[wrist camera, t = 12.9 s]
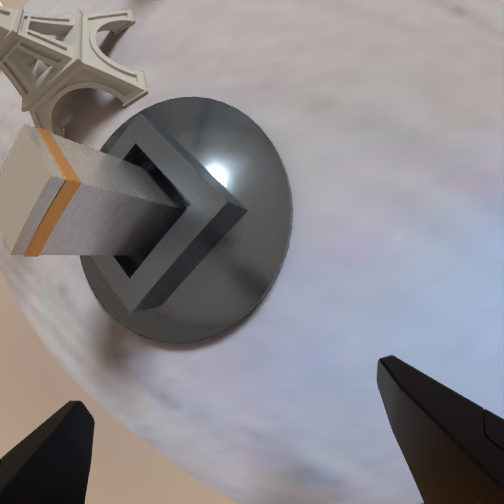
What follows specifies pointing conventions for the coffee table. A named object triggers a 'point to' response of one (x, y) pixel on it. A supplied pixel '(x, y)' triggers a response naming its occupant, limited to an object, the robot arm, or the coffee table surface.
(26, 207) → the square box
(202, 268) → the square socket base
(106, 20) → the eiffel tower
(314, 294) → the coffee table surface
